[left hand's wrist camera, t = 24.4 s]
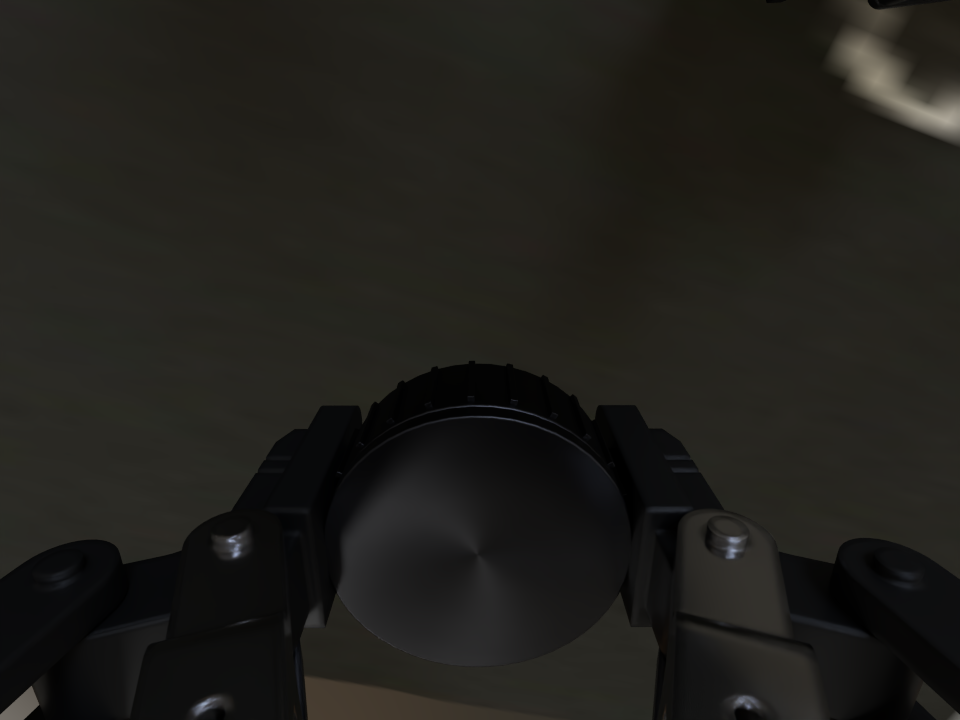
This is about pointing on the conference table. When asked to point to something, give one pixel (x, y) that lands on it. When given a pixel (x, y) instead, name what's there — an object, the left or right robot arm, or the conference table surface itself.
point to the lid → (478, 518)
